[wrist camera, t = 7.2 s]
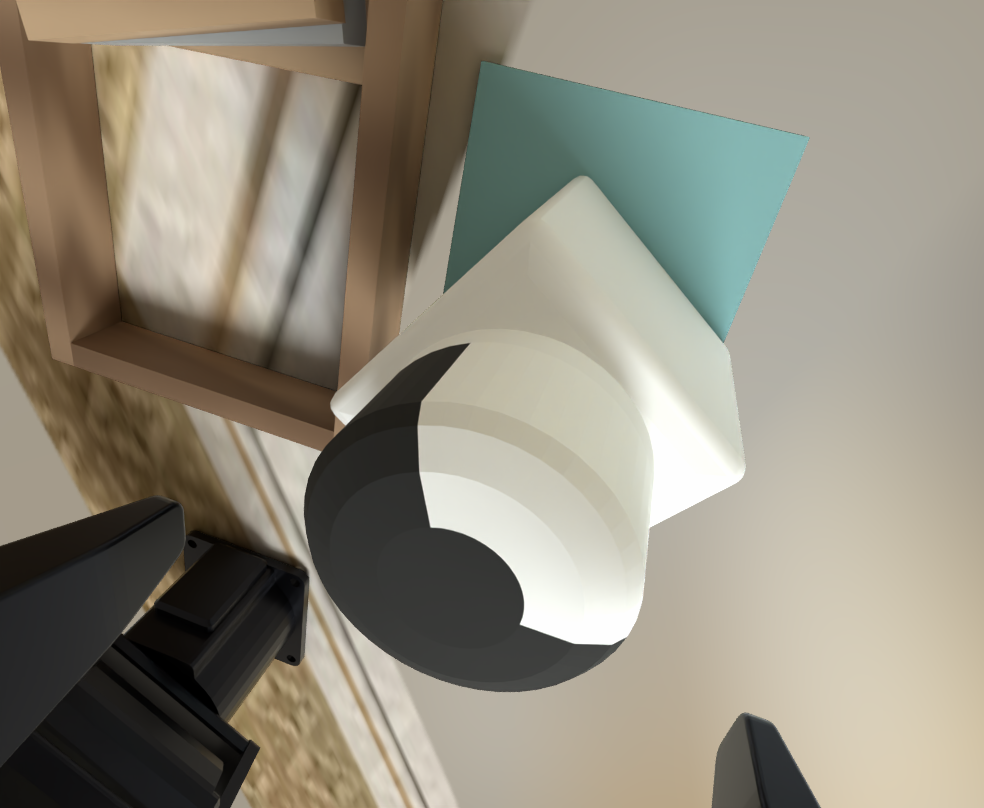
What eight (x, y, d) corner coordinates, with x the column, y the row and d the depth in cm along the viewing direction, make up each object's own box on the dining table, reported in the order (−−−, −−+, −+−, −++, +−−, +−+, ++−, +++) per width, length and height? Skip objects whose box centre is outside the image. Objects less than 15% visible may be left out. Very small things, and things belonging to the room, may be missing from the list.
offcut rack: (386, 430, 25) (357, 463, 22) (103, 336, 26) (52, 358, 24) (475, -247, 15) (439, -301, 13) (19, -319, 17) (-79, -377, 15)
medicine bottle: (558, 464, 23) (449, 781, 12) (424, 314, 21) (180, 529, 11) (734, 353, 19) (784, 668, 9) (585, 167, 18) (446, 284, 8)
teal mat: (641, 532, 23) (641, 538, 23) (419, 457, 25) (415, 462, 24) (807, 136, 17) (809, 137, 16) (485, 61, 18) (481, 60, 17)
